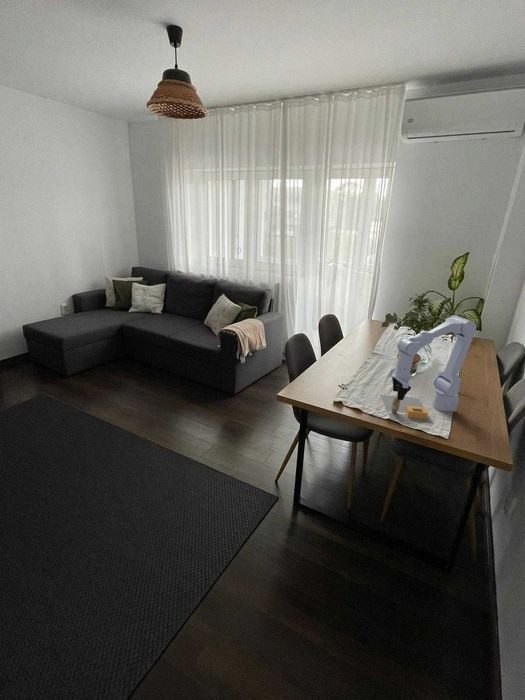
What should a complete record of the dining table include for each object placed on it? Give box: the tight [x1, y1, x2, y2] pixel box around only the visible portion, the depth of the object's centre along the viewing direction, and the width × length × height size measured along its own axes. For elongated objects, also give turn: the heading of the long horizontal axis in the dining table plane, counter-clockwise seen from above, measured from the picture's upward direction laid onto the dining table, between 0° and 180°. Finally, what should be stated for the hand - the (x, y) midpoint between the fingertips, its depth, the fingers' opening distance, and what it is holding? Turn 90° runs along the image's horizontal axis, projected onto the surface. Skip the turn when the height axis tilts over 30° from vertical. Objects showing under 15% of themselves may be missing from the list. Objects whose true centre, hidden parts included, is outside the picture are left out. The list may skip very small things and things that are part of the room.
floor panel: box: [379, 394, 434, 425], centre depth 155 cm, size 18×22×1 cm
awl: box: [391, 397, 400, 414], centre depth 150 cm, size 3×3×7 cm
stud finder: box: [405, 405, 429, 419], centre depth 149 cm, size 8×5×3 cm, turn 83°
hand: (397, 395), depth 148 cm, fingers open, 7 cm apart
